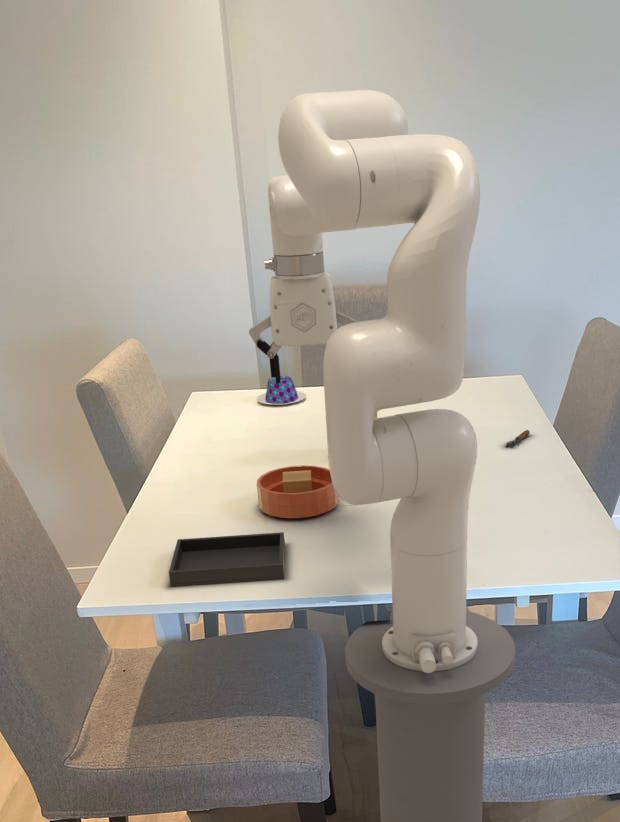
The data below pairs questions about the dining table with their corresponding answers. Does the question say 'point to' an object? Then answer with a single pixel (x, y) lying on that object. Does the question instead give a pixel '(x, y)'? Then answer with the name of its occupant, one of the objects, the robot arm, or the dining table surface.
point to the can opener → (519, 438)
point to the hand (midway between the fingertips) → (308, 379)
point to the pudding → (281, 392)
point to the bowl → (296, 494)
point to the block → (297, 481)
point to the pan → (228, 559)
